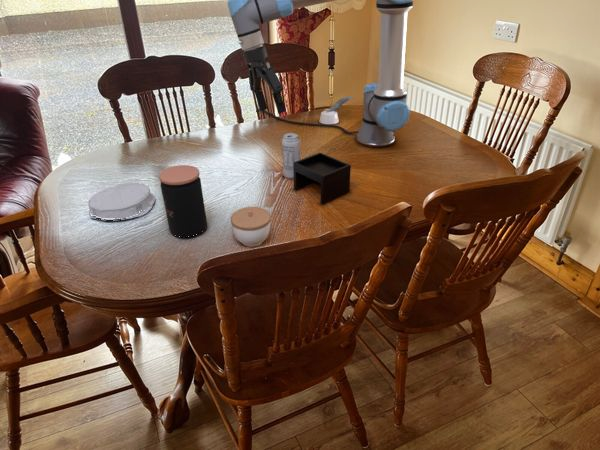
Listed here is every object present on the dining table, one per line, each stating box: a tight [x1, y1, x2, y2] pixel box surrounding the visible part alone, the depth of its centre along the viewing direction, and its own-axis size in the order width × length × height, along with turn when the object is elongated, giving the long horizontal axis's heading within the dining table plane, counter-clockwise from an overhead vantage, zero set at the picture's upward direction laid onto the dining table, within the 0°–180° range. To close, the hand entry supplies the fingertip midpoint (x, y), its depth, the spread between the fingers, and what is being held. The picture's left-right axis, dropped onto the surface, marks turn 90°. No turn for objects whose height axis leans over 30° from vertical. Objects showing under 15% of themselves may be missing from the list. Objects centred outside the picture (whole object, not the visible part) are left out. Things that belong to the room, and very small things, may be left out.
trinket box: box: [230, 206, 272, 248], centre depth 122 cm, size 11×11×9 cm
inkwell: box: [318, 95, 355, 125], centre depth 205 cm, size 9×18×10 cm, turn 121°
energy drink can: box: [281, 132, 301, 180], centre depth 154 cm, size 6×6×15 cm
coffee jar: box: [158, 164, 208, 240], centre depth 125 cm, size 11×11×18 cm
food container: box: [87, 182, 156, 221], centre depth 140 cm, size 20×20×7 cm
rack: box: [293, 152, 352, 206], centre depth 146 cm, size 14×12×10 cm
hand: (272, 111), depth 155 cm, fingers open, 13 cm apart
